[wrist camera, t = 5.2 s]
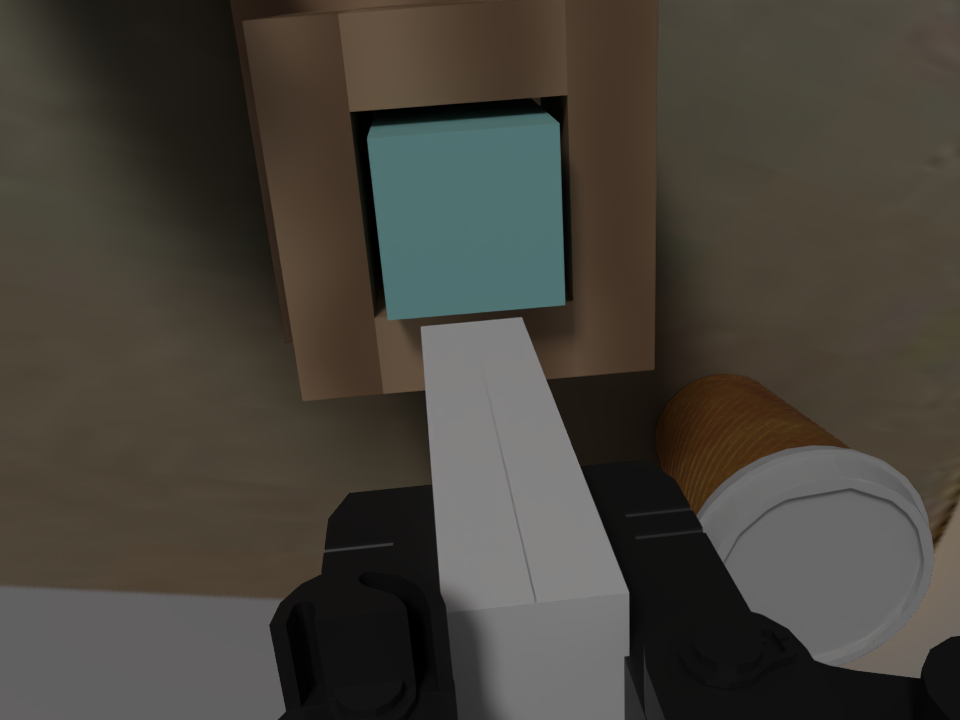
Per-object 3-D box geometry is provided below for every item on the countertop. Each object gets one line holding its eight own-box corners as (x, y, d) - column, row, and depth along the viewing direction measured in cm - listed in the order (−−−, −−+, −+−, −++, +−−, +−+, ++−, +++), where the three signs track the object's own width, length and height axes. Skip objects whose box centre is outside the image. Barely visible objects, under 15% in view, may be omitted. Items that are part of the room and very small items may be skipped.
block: (396, 219, 36) (387, 320, 25) (382, 91, 34) (367, 138, 23) (519, 209, 36) (565, 304, 25) (512, 81, 34) (559, 123, 23)
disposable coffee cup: (847, 376, 43) (997, 508, 32) (758, 535, 46) (865, 705, 35) (671, 315, 41) (766, 433, 30) (591, 485, 44) (650, 648, 33)
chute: (288, 334, 40) (235, 478, 28) (226, -54, 34) (124, -79, 22) (637, 304, 41) (729, 433, 29) (637, -82, 35) (755, -123, 23)
